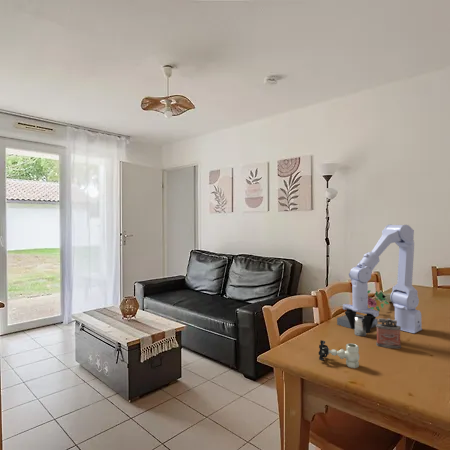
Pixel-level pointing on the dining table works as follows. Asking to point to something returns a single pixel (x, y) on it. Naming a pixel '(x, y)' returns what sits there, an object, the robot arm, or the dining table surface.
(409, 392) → the dining table surface
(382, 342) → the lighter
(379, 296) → the flower vase
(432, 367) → the dining table surface
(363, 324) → the bushing
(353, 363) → the valve
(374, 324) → the block
